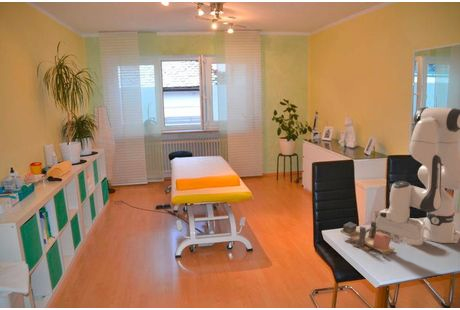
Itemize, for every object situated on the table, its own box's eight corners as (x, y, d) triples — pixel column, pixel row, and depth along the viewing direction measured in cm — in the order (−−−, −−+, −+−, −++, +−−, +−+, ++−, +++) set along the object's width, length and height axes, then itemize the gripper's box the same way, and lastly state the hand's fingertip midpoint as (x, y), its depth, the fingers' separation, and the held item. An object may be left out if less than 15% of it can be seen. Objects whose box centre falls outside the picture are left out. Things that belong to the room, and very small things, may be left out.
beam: (339, 232, 187) (341, 221, 185) (348, 228, 192) (350, 217, 190) (386, 255, 168) (388, 243, 166) (394, 249, 173) (397, 237, 171)
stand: (353, 245, 179) (354, 225, 177) (366, 238, 187) (367, 218, 185) (384, 257, 167) (386, 236, 164) (397, 249, 175) (399, 228, 172)
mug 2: (430, 240, 184) (432, 221, 182) (430, 248, 175) (432, 228, 173) (401, 235, 191) (403, 216, 188) (400, 242, 182) (402, 223, 180)
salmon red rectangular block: (373, 244, 175) (375, 233, 173) (377, 242, 177) (379, 231, 176) (384, 249, 170) (386, 238, 169) (388, 247, 173) (390, 236, 171)
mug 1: (390, 229, 197) (392, 213, 195) (383, 237, 188) (384, 220, 186) (375, 226, 203) (376, 210, 201) (367, 233, 193) (369, 216, 191)
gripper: (425, 220, 159) (422, 247, 162) (381, 208, 175) (380, 234, 178) (418, 224, 155) (416, 252, 158) (375, 211, 171) (373, 237, 174)
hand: (396, 242), depth 168 cm, fingers closed
